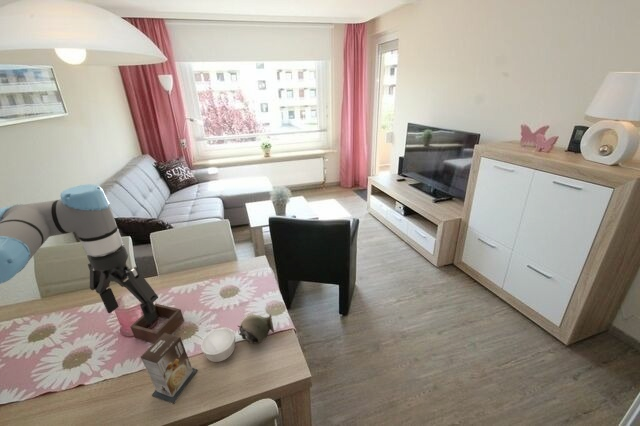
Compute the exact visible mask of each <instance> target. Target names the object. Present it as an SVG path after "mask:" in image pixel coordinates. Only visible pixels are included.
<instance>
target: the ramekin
mask: <svg viewBox="0 0 640 426" xmlns="http://www.w3.org/2000/svg"><path fill="white" fill-rule="evenodd" d="M235 347H236V333H235V332H234V330H233V329H231V328H229V327H217V328H215V329H212V330H210V331H209V332H207V333H206V335H205V336H204V337H203V338H202V339H201V343H200V350H201V352H202V354H204V356H205V357H206V358H207V359H208V361H210V362H212V363H213V362H214V363H218V362H223V361H225V360H227V359H229V357H230V356H232V354H233V353H234V352H235V351H234V350H235V349H236V348H235Z"/></svg>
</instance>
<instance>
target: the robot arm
mask: <svg viewBox="0 0 640 426" xmlns="http://www.w3.org/2000/svg"><path fill="white" fill-rule="evenodd" d="M59 197H60V199H54V200H47V201H40V202H39V201H37V202H32V203H25V204H24V203H23V204H22V203H19V204H18V203H17V204H13V205H10V206H5V207H0V285H2V284H4V283H6V282H9V281H10V280H11V279H13V278H14V277H15V276H16V275H17V274H19V273H20V272H21V271H23V270H24V269H25V267H26V266H27V265H28V264H29V262H30V261H31V259H32V258H33V257H34V256H35V254H36V253H37V252H38V250H39V249H40V248H41V247H42V246H43V245H44V244H45V242H46V241H47V240H48V239H49V238H50V237H55V236H61V235H67V234H71V233H76V235H77V237H78V240H79V242H80V244H81V246H82V249H83V251H84V253H85V255H87V256H86V257H87V260H88V262H89V263H88V264H87V266H88V269H89V289H90V291H95V292H96V293H97V294H98V295H99V297H100V299H101V301H102V303H103V305H104V308H105V310H106V312H107V313H108V314H112V313H113V312H114V311H115V310H117V308H119V307H120V306H119V304H118V302H117V299H116V296H115V294H114V292H113V289H112V288H111V287H110V284H111V282H112V283H113V282H115V283H117V284H118V285H119V286H120V287H122V288H125V289H126V290H128V291H129V293H130V294H131V295H133V297H135V298H136V299H137V300H138V301H139V302H140V304H139V306H140V309H141V311H142V315H144V317H145V319H146V322H147V324H151V323H152V322H153V321H154V320H155V319H156V318H157V314H156V311H155V306H154V305H155V302H156V301H157V300H158V299H159V295H158V294H157V293H156V291H154V289H153V288H152V286H151V285H150V284H149V282H148V281H147V279H146V278H145V277H144V276H143V274H142V273H141V271H140V269H139V267H138V266H134V267H133V268H131V267H129V266H128V265H127V260H128V258H129V253H128V251H127V248H126V246H125V244H124V242H123V239H122V236H121V233H120V229H119V228H118V225H117V223H116V219H115V216H114V213H113V211H112V207H111V204H110V202H109V200H108V198H107V196H106V194H105V191H104V189H103V188H102V187H101V186H100V185H97V184H92V183H91V184H80V185H77V186H72V187H69V188H66V189H64V190H62V191H61V192H60V195H59Z"/></svg>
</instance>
